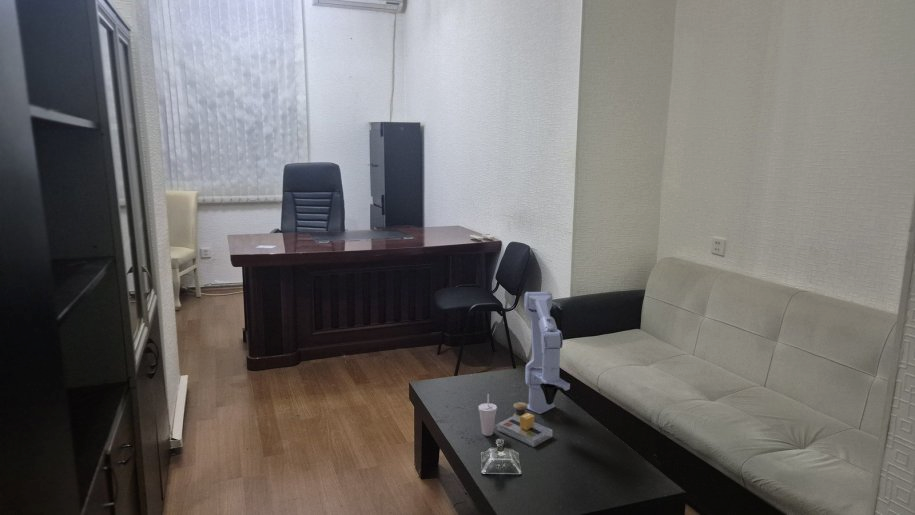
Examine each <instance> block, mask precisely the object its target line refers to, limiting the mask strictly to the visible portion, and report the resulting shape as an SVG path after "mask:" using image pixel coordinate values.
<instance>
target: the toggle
mask: <svg viewBox="0 0 915 515" xmlns="http://www.w3.org/2000/svg"><path fill="white" fill-rule="evenodd" d="M534 422H535V415H534V414H531V413H529V412H525V414H524V415H522V416H520V428H523V429H525V430H528V429H530V428H532V427H534Z"/></svg>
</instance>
